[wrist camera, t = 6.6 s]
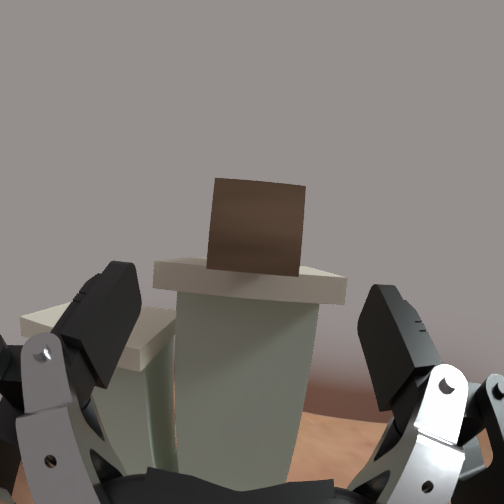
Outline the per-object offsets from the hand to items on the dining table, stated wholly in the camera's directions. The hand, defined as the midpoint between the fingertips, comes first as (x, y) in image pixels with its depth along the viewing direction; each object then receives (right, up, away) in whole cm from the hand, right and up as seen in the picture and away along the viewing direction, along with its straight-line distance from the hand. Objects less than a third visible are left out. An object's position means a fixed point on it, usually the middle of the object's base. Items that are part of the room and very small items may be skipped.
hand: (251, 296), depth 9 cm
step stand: (-10, -31, +18) cm, 37 cm away
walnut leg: (0, 0, +12) cm, 12 cm away
